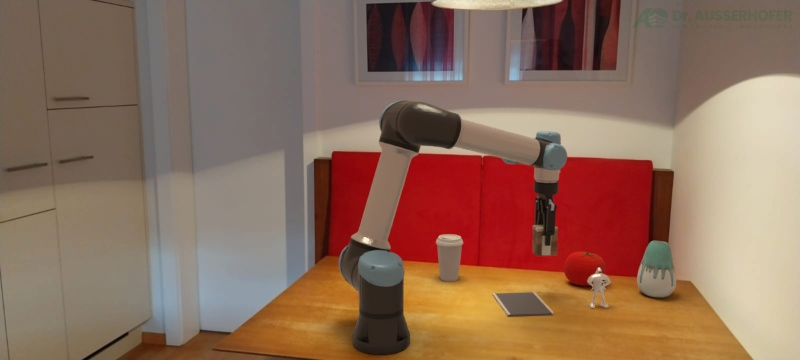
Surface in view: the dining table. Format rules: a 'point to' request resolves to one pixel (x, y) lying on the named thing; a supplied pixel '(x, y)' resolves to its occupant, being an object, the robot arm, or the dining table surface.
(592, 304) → the figurine
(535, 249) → the block
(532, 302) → the mat
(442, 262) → the coffee cup
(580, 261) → the tomato
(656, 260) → the vase
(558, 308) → the dining table surface
